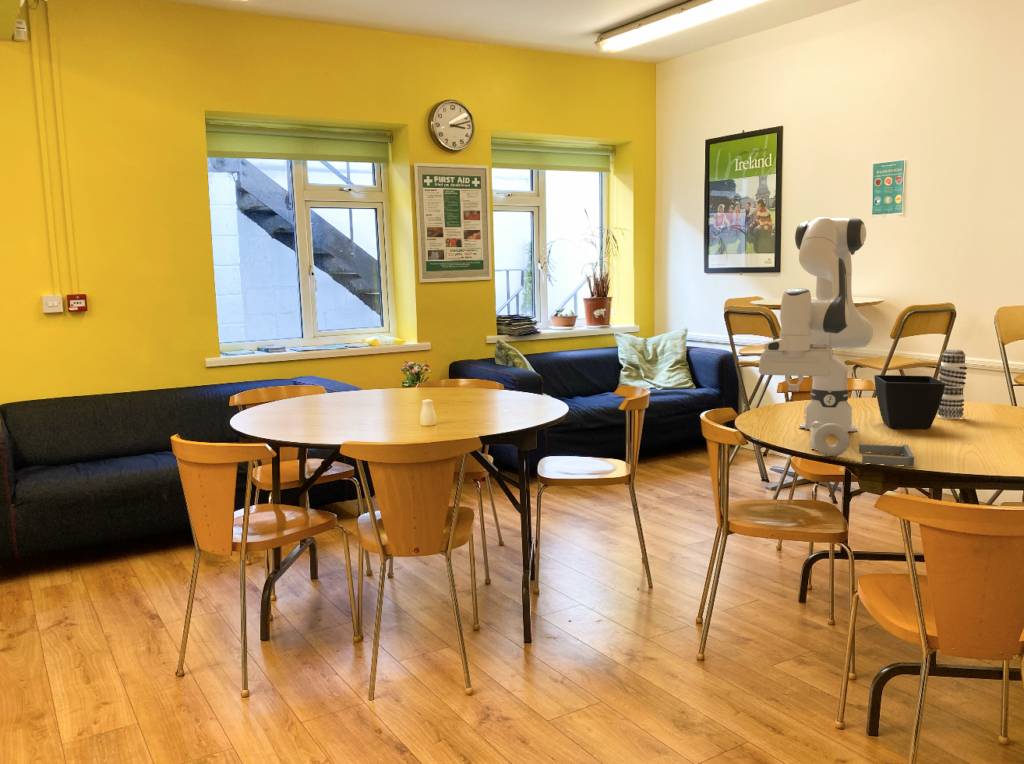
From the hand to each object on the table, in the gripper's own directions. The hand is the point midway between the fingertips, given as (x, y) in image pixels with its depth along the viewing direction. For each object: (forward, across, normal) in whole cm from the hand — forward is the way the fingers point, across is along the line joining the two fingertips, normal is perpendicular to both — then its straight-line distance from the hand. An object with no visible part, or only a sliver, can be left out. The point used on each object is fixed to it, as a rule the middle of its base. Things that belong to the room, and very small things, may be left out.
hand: (793, 390), depth 247 cm
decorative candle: (+19, -54, -82) cm, 100 cm away
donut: (+19, -11, 0) cm, 22 cm away
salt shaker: (+19, -7, -9) cm, 22 cm away
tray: (+19, -26, 0) cm, 32 cm away
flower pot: (+20, -37, -59) cm, 72 cm away
